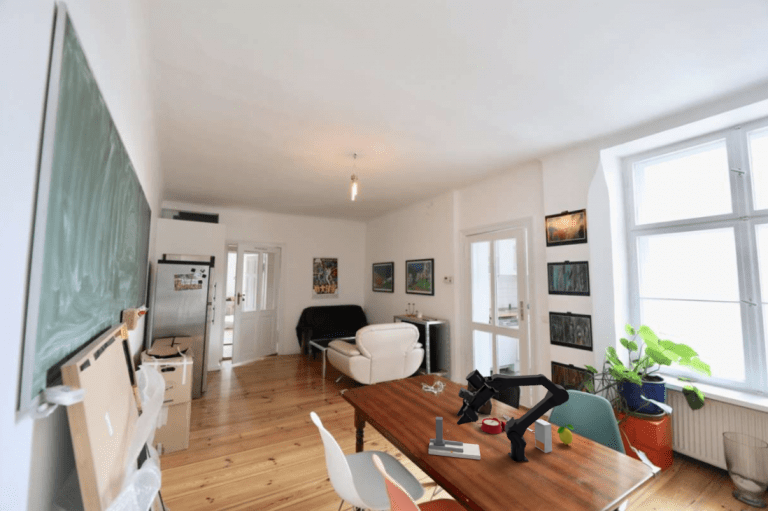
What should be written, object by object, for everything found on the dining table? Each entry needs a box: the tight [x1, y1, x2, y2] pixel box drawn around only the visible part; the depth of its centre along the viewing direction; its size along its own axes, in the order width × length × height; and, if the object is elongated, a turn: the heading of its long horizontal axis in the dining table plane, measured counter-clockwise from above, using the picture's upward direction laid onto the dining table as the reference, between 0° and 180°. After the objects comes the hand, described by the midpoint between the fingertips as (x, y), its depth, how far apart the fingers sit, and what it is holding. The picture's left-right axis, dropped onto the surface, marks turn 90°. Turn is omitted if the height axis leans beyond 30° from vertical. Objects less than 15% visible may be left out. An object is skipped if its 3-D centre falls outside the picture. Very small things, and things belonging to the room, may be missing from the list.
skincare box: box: [534, 418, 553, 454], centre depth 150 cm, size 6×4×12 cm
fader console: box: [428, 438, 481, 461], centre depth 148 cm, size 22×10×3 cm, turn 78°
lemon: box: [557, 422, 575, 446], centre depth 155 cm, size 7×6×10 cm
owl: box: [466, 381, 493, 416], centre depth 194 cm, size 13×13×20 cm
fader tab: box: [433, 416, 446, 446], centre depth 150 cm, size 5×4×12 cm
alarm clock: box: [476, 417, 506, 435], centre depth 170 cm, size 10×6×15 cm
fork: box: [502, 414, 534, 432], centre depth 175 cm, size 3×24×2 cm, turn 25°
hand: (457, 419), depth 149 cm, fingers open, 9 cm apart
